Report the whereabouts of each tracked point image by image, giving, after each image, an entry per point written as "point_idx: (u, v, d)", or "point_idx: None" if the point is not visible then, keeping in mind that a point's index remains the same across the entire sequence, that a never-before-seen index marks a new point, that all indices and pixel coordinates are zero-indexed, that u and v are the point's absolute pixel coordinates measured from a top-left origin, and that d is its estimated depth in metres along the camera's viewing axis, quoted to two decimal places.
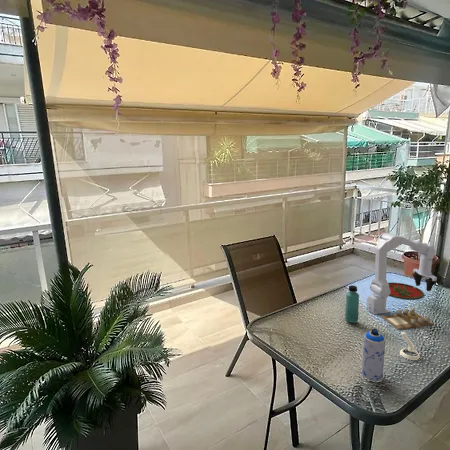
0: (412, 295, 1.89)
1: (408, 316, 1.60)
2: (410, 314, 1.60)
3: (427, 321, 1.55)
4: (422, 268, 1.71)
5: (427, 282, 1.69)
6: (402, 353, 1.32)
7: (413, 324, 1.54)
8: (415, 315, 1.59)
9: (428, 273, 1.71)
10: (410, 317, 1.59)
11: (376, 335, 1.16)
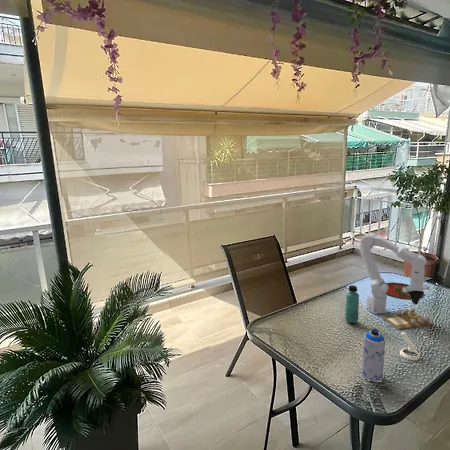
0: None
1: (408, 316, 1.60)
2: (410, 314, 1.60)
3: (427, 321, 1.55)
4: None
5: None
6: (402, 353, 1.32)
7: (413, 324, 1.54)
8: (415, 315, 1.59)
9: (411, 286, 1.57)
10: (410, 317, 1.59)
11: (376, 335, 1.16)
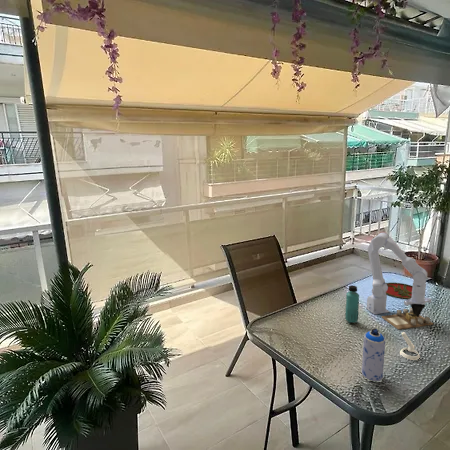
0: None
1: (406, 316, 1.60)
2: (408, 314, 1.60)
3: (427, 321, 1.55)
4: None
5: None
6: (402, 353, 1.32)
7: (413, 324, 1.54)
8: (413, 315, 1.59)
9: (412, 299, 1.58)
10: (408, 317, 1.59)
11: (376, 335, 1.16)
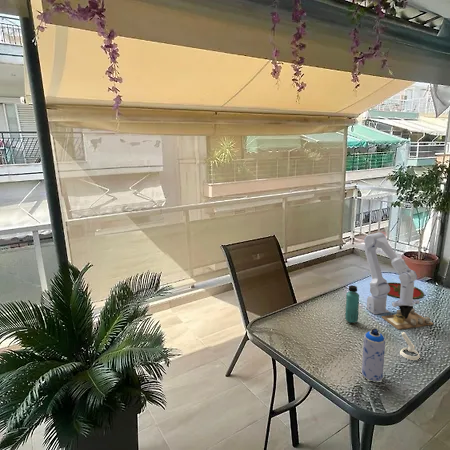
0: None
1: (394, 318, 1.59)
2: (396, 316, 1.59)
3: (427, 321, 1.55)
4: None
5: None
6: (402, 353, 1.32)
7: (413, 324, 1.54)
8: (401, 317, 1.57)
9: (400, 300, 1.57)
10: (396, 319, 1.57)
11: (376, 335, 1.16)
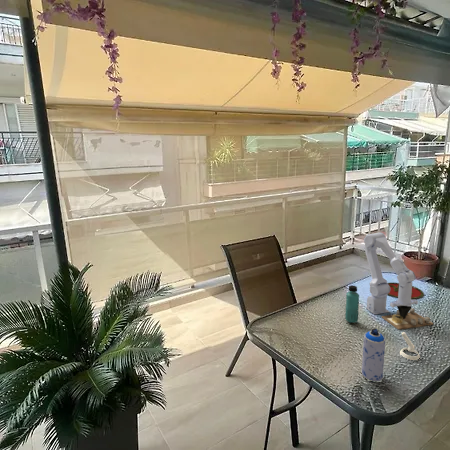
0: (412, 295, 1.89)
1: (393, 318, 1.58)
2: (395, 316, 1.58)
3: (427, 321, 1.55)
4: None
5: None
6: (402, 353, 1.32)
7: (413, 324, 1.54)
8: (400, 317, 1.57)
9: (399, 300, 1.57)
10: (395, 319, 1.57)
11: (376, 335, 1.16)
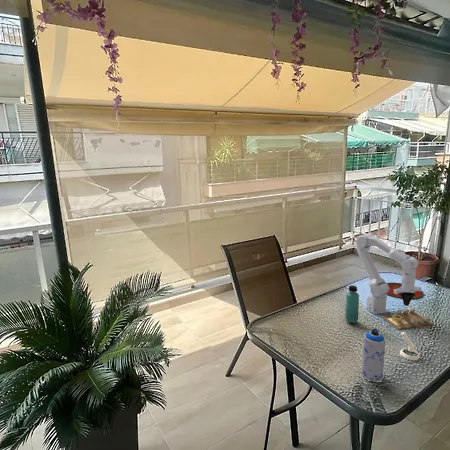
0: None
1: (393, 318, 1.58)
2: (395, 316, 1.58)
3: (427, 321, 1.55)
4: None
5: None
6: (402, 353, 1.32)
7: (413, 324, 1.54)
8: (400, 317, 1.57)
9: (402, 287, 1.57)
10: (395, 319, 1.57)
11: (376, 335, 1.16)
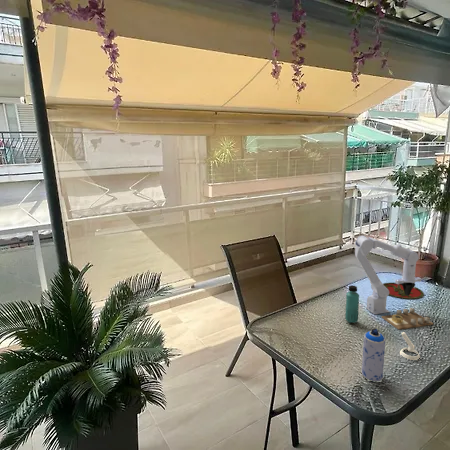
0: (412, 295, 1.89)
1: (393, 318, 1.58)
2: (395, 316, 1.58)
3: (427, 321, 1.55)
4: None
5: None
6: (402, 353, 1.32)
7: (413, 324, 1.54)
8: (400, 317, 1.57)
9: (403, 278, 1.67)
10: (395, 319, 1.57)
11: (376, 335, 1.16)
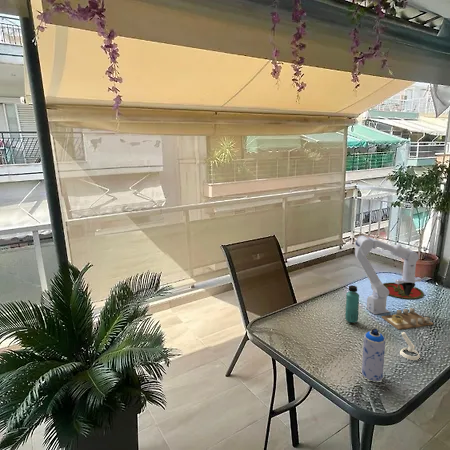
0: (412, 295, 1.89)
1: (393, 318, 1.58)
2: (395, 316, 1.58)
3: (427, 321, 1.55)
4: None
5: None
6: (402, 353, 1.32)
7: (413, 324, 1.54)
8: (400, 317, 1.57)
9: (403, 278, 1.67)
10: (395, 319, 1.57)
11: (376, 335, 1.16)
